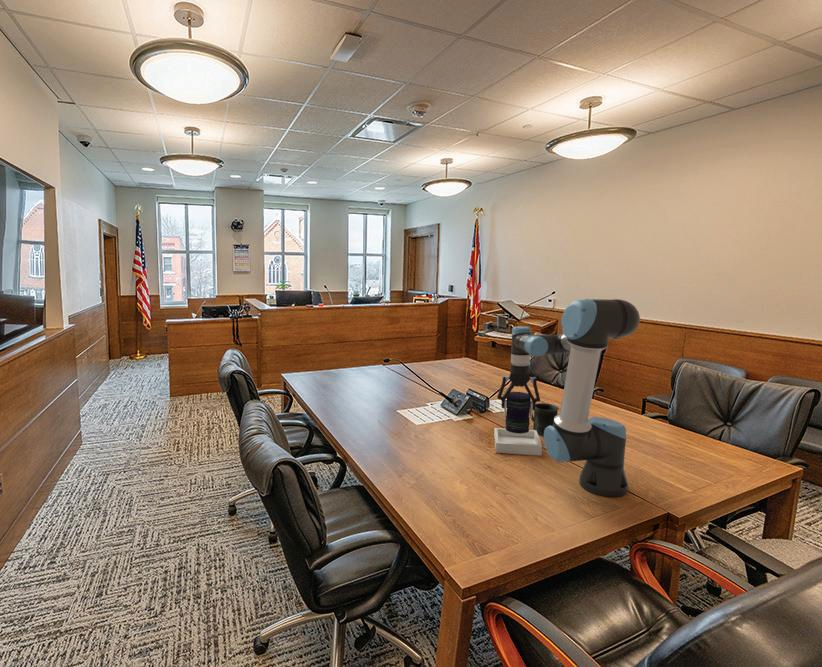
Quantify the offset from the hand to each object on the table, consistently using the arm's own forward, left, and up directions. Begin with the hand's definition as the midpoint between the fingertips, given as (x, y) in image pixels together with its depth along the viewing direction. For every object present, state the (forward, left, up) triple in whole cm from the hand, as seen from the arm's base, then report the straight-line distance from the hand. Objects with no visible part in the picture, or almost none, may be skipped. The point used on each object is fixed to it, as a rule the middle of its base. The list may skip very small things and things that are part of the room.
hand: (517, 416), depth 182 cm
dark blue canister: (0, 0, -6) cm, 6 cm away
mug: (+20, -13, -13) cm, 27 cm away
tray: (0, 0, -13) cm, 13 cm away
